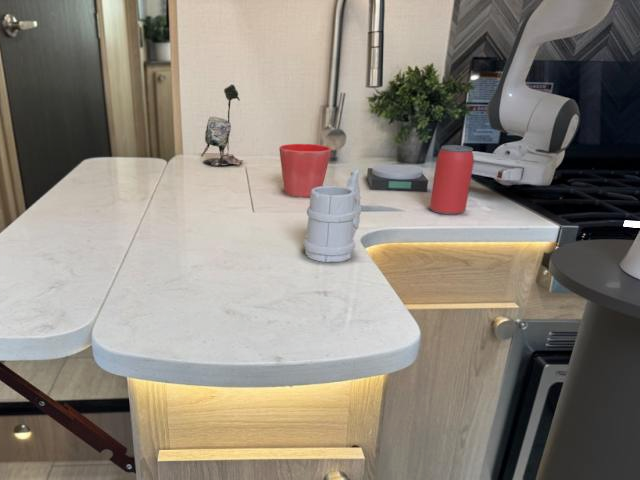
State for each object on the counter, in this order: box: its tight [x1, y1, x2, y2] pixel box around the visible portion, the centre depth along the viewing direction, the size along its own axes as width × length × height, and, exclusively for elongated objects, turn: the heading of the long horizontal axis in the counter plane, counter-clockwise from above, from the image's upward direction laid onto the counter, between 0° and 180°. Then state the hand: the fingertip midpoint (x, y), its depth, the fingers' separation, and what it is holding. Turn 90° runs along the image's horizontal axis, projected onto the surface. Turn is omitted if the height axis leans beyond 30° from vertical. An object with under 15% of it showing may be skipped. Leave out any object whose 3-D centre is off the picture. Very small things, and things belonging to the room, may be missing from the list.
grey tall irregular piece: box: [200, 84, 243, 166], centre depth 145 cm, size 8×11×20 cm
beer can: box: [429, 144, 474, 216], centre depth 105 cm, size 7×7×12 cm
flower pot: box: [279, 143, 332, 198], centre depth 119 cm, size 11×11×10 cm
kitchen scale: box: [366, 164, 429, 192], centre depth 128 cm, size 12×12×4 cm
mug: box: [303, 169, 363, 263], centre depth 84 cm, size 8×12×12 cm, turn 139°
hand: (478, 171), depth 110 cm, fingers open, 8 cm apart
